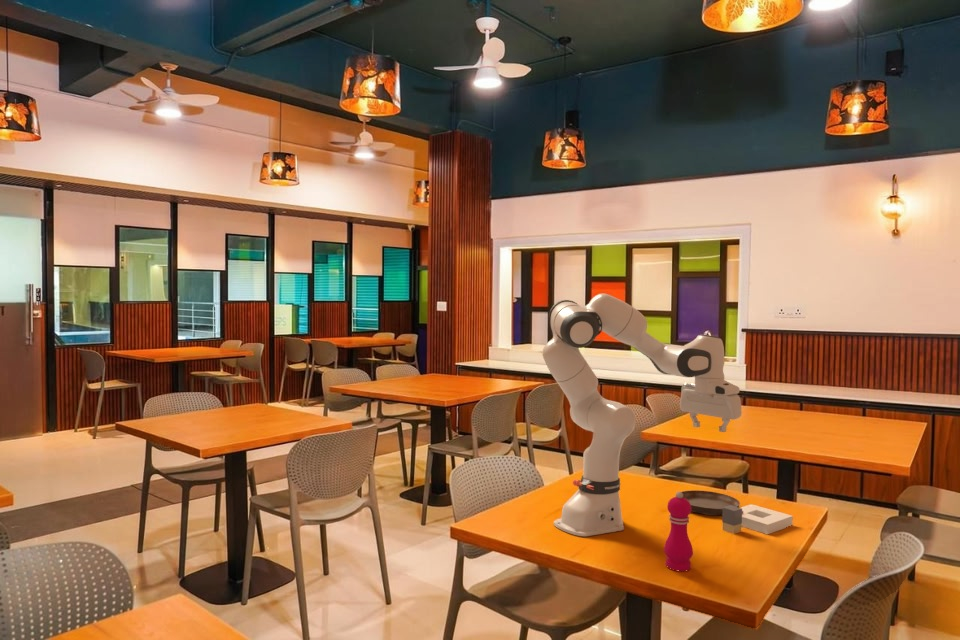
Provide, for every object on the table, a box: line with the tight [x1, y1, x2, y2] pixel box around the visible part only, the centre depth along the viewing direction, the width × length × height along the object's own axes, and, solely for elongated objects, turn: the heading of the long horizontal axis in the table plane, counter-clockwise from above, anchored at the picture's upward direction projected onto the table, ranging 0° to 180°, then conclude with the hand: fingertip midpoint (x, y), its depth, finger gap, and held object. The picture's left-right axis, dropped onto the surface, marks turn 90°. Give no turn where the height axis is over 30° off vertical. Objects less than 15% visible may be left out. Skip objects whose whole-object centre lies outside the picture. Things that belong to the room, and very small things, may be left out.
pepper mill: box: [663, 491, 694, 572], centre depth 170 cm, size 7×7×20 cm
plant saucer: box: [675, 489, 741, 516], centre depth 220 cm, size 21×21×3 cm
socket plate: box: [740, 503, 794, 535], centre depth 204 cm, size 14×14×4 cm
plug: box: [721, 505, 742, 535], centre depth 198 cm, size 4×4×7 cm
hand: (709, 429), depth 205 cm, fingers open, 8 cm apart
